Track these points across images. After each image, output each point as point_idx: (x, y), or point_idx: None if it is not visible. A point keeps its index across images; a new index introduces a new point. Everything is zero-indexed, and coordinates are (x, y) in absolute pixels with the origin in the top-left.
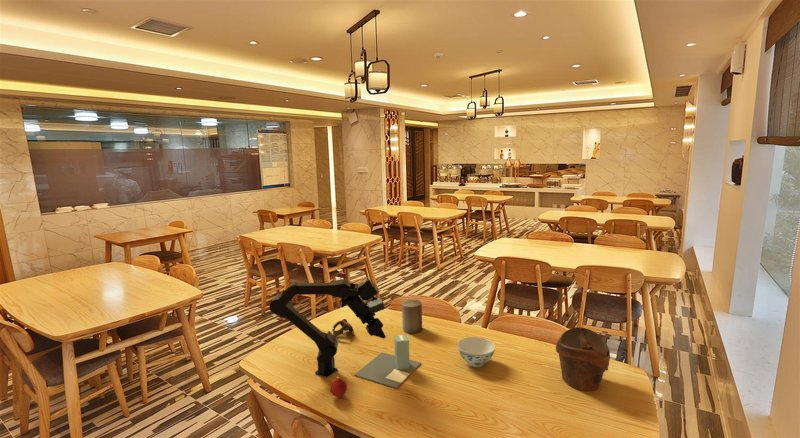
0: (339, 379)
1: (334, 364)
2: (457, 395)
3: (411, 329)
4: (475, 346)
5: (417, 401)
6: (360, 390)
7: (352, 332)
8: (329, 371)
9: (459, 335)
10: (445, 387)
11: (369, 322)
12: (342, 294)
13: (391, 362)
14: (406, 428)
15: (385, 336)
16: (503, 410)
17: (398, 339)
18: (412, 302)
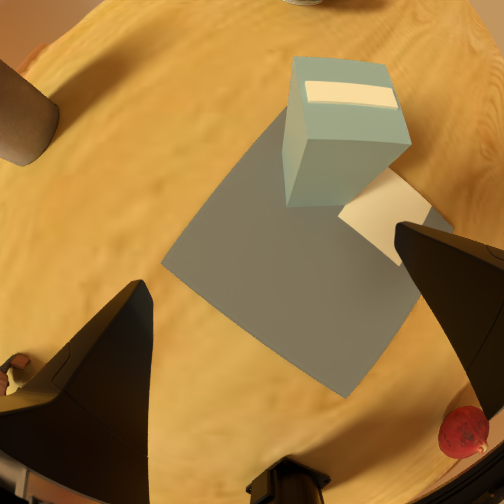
0: (485, 439)
1: (271, 475)
2: (454, 79)
3: (45, 126)
4: None
5: (491, 179)
6: (438, 361)
7: (21, 367)
8: (314, 482)
9: (130, 13)
10: (430, 86)
11: (136, 427)
12: None
13: (272, 223)
14: None
15: (414, 225)
16: (471, 42)
17: (374, 120)
18: None
